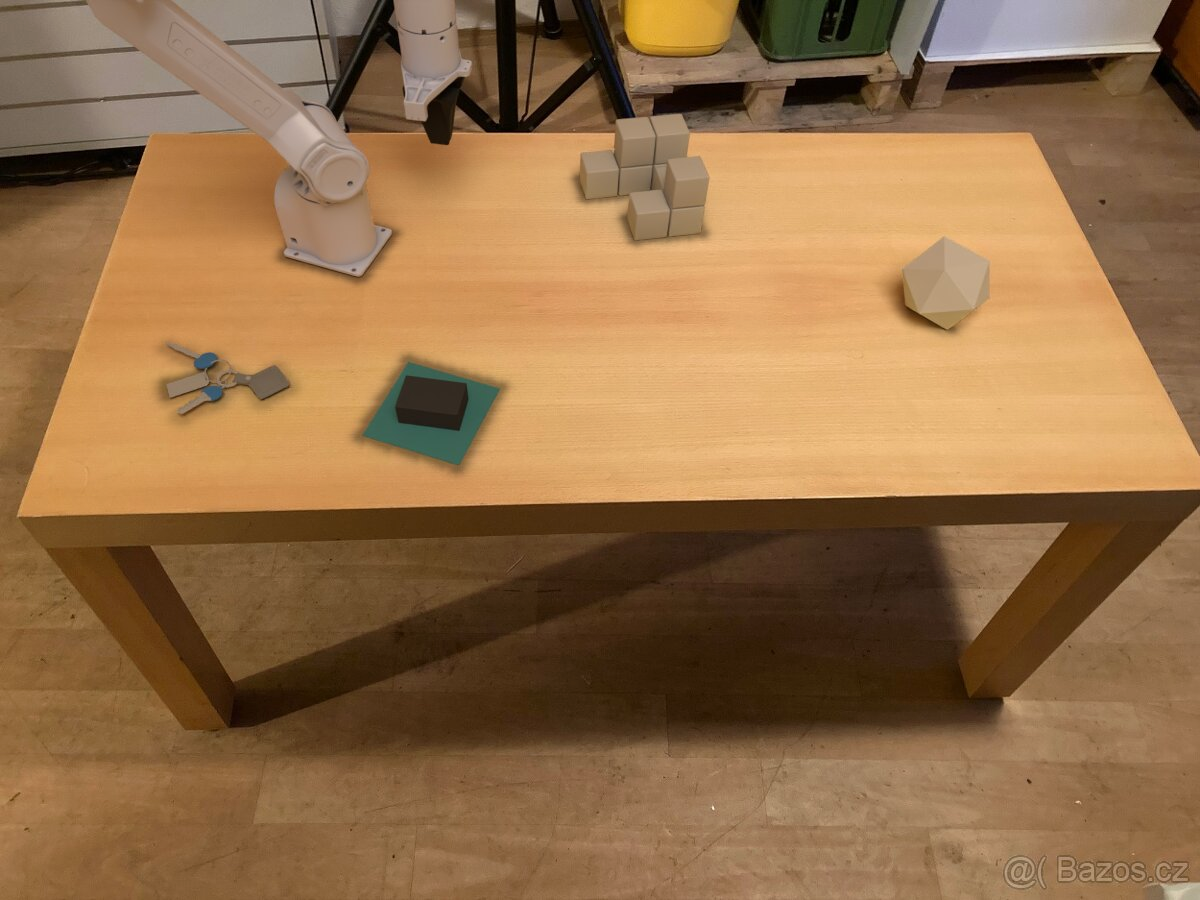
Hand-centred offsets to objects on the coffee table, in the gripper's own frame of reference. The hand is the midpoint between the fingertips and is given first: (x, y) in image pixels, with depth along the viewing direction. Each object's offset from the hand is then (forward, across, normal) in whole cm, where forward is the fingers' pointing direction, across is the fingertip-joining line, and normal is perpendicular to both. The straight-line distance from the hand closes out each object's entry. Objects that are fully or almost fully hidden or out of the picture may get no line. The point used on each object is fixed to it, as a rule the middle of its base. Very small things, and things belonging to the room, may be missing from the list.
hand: (440, 140), depth 99 cm
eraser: (+9, -30, -5) cm, 31 cm away
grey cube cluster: (+10, +5, -22) cm, 24 cm away
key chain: (+9, -30, +16) cm, 36 cm away
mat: (+9, -30, -5) cm, 32 cm away
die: (+10, -7, -56) cm, 57 cm away
